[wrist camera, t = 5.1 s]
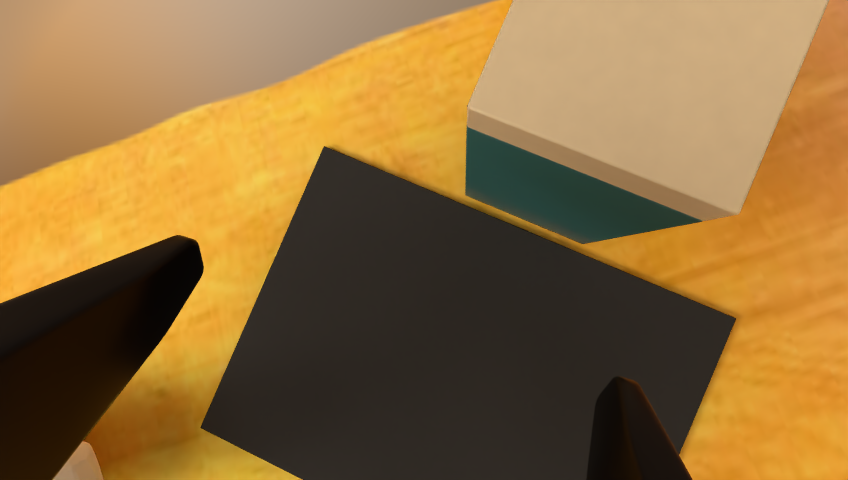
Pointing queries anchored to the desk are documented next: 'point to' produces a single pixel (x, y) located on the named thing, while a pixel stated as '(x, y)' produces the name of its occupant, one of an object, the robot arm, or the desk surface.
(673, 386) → the mat
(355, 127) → the desk surface
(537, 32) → the toy box
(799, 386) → the desk surface
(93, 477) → the white turtle figurine
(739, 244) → the desk surface
